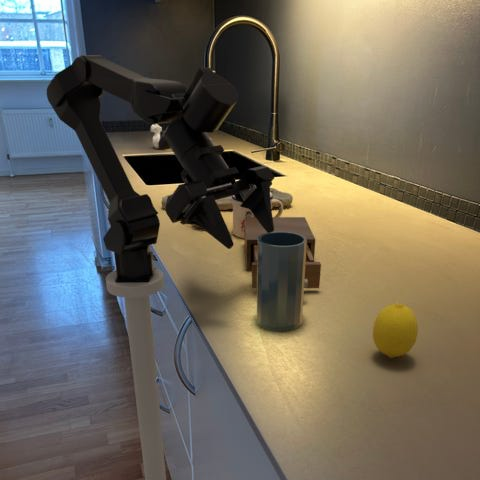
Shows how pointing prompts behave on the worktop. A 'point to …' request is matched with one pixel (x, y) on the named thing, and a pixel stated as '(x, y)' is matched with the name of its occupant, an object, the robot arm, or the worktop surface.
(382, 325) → the lemon
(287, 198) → the elongated rock
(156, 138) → the bust
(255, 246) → the drawer
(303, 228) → the cabinet
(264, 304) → the tumbler
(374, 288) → the worktop surface
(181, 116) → the robot arm
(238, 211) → the teacup with lid
